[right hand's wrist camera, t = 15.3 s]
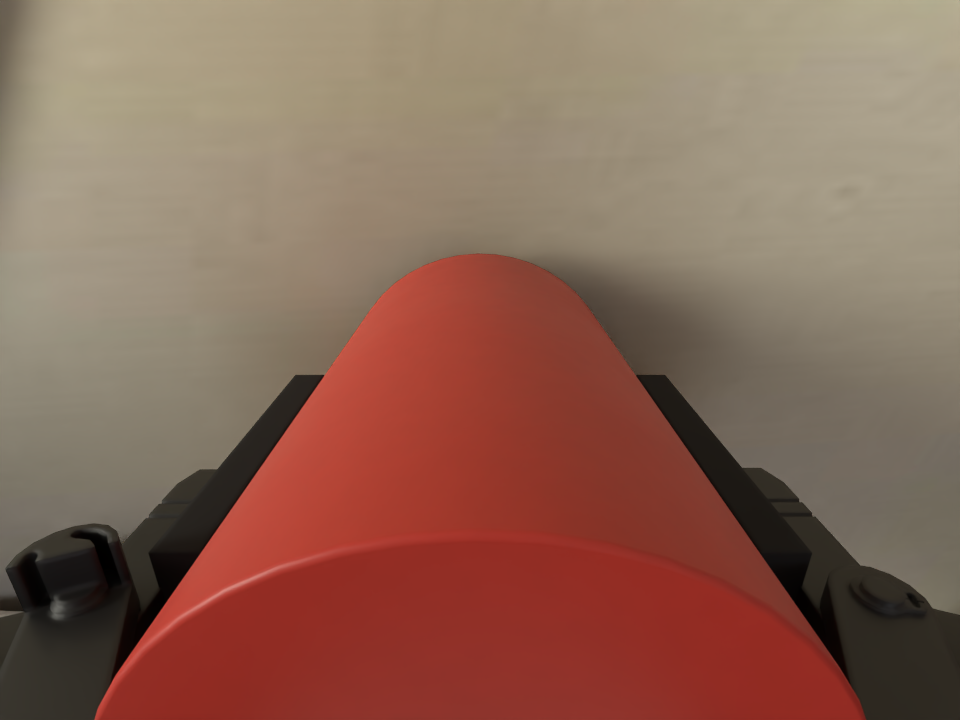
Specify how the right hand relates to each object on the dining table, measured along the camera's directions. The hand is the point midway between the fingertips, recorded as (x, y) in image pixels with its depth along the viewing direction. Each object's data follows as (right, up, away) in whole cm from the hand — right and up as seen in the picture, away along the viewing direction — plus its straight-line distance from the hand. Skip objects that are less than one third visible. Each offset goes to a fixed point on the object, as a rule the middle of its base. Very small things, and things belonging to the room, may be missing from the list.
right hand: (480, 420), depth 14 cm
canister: (0, +1, +3) cm, 3 cm away
